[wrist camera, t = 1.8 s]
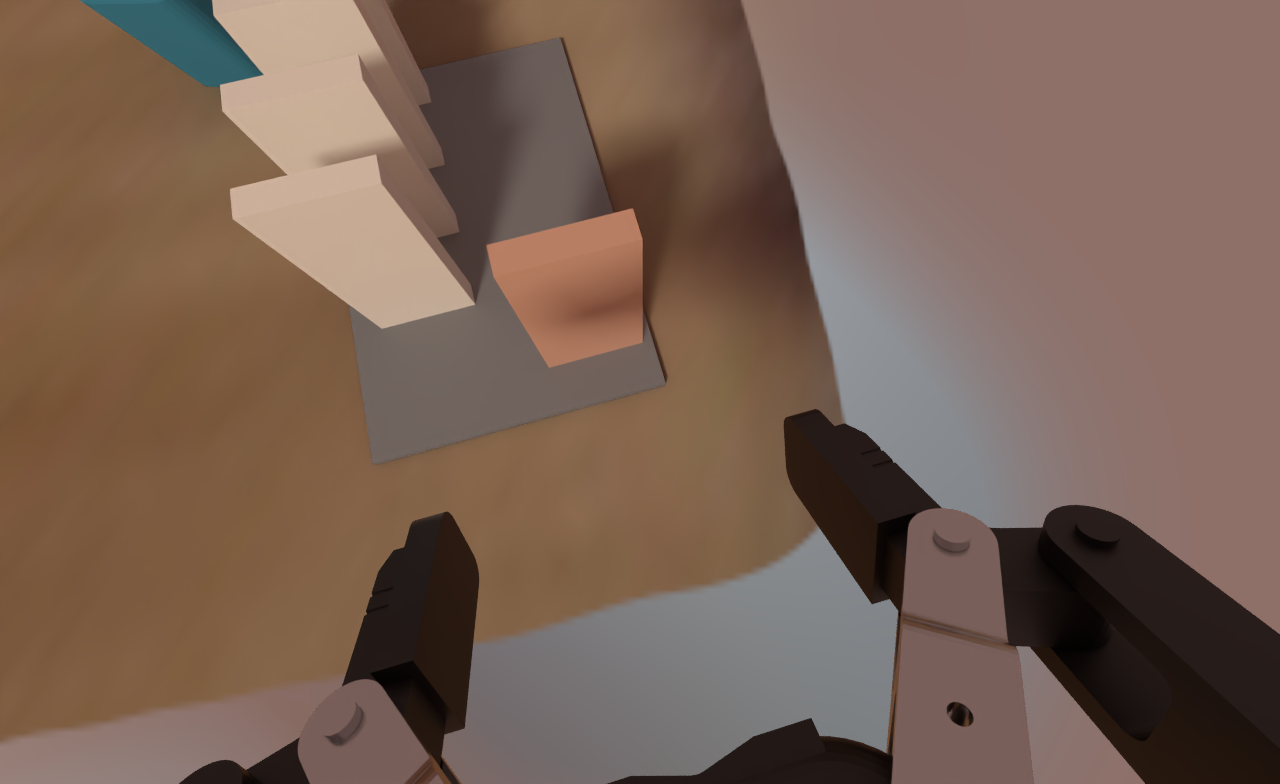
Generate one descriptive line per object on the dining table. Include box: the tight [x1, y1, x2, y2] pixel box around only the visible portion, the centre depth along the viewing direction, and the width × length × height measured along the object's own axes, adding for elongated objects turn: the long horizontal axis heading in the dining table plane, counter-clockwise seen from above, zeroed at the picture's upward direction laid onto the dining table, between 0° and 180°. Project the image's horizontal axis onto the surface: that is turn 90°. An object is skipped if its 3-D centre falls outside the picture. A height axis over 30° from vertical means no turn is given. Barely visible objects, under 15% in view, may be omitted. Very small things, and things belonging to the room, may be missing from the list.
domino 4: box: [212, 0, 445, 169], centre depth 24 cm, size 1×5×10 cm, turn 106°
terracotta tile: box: [486, 208, 643, 368], centre depth 22 cm, size 1×5×10 cm, turn 106°
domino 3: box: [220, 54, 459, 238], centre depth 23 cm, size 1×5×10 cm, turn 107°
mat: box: [349, 38, 666, 465], centre depth 28 cm, size 23×15×1 cm, turn 16°
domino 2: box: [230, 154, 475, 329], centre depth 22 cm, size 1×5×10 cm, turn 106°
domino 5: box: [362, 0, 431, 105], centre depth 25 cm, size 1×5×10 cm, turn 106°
